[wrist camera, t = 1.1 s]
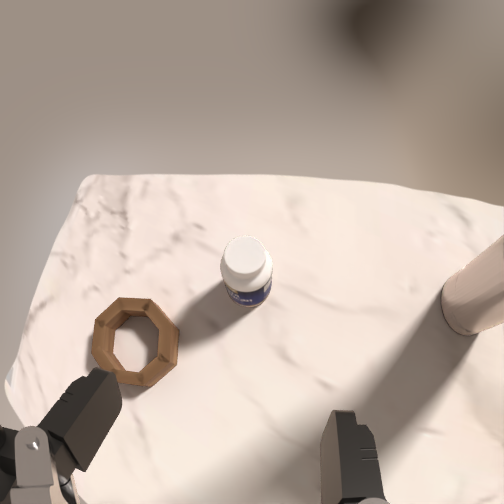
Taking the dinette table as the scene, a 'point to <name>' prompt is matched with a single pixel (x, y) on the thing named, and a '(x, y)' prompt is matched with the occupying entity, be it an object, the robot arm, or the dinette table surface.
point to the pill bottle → (247, 271)
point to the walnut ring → (106, 334)
